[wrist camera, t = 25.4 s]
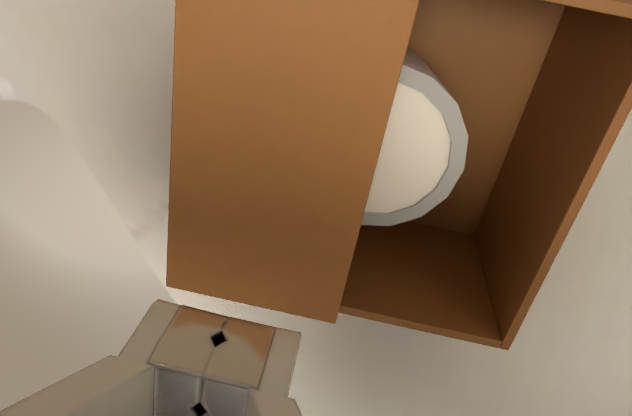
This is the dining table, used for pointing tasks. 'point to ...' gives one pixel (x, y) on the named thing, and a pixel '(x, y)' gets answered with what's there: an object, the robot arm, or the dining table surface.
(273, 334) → the robot arm
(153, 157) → the dining table surface
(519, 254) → the carton
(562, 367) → the dining table surface
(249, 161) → the flap
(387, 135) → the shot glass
